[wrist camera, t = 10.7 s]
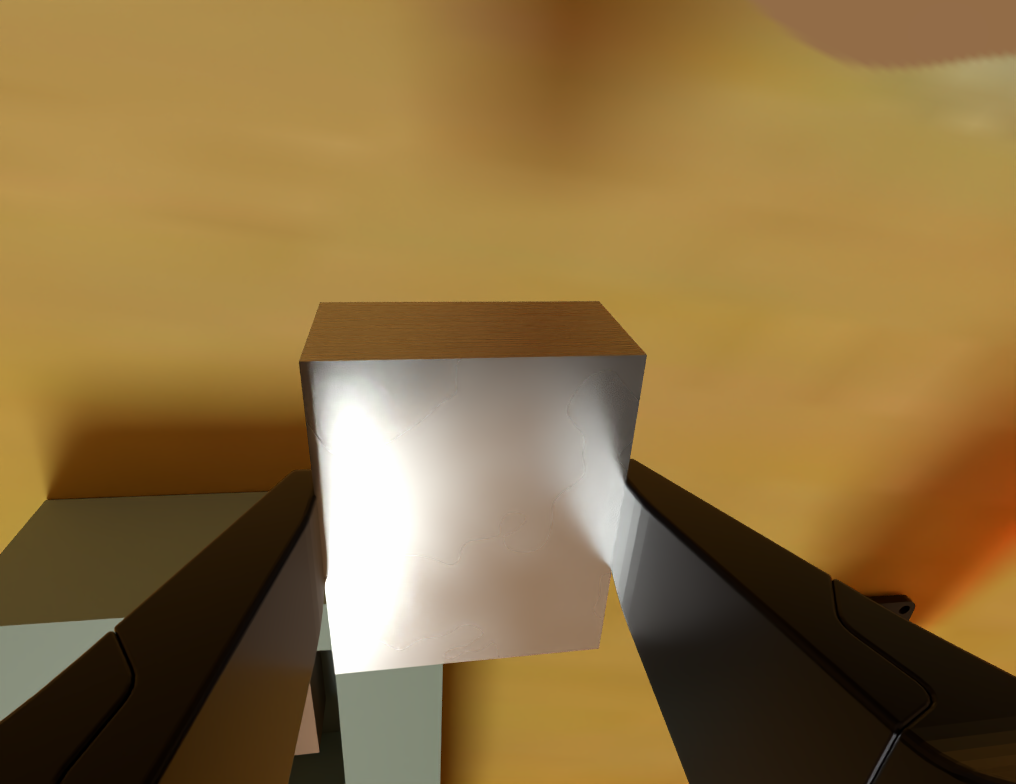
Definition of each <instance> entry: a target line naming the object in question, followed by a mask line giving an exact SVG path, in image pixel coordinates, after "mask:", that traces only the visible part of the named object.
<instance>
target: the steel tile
mask: <svg viewBox="0 0 1016 784" xmlns="http://www.w3.org/2000/svg"><path fill="white" fill-rule="evenodd" d="M646 357H647V355H646V354H645V352H644V351H643V350H642V349H641V348H640V347H639V346H638V345H637V343H636V342H635V341H634V340H633V339H632V338H631V337H630V336H629V334H628V333H627V332H626V331H625V330H624V329H623V328H622V327H621V325H620V324H619V323H618V322H617V321H616V320H615V319H614V318H613V316H612V315H611V314H610V313H609V312H608V311H607V310H606V309H605V307H604V306H603V305H602V304H601V303H600V302H599V301H558V302H320V304H319V307H318V310H317V312H316V315H315V318H314V321H313V324H312V326H311V329H310V332H309V335H308V338H307V340H306V343H305V346H304V349H303V352H302V354H301V357H300V360H299V366H300V374H301V383H302V392H303V400H304V409H305V418H306V426H307V435H308V444H309V452H310V461H311V470H312V478H313V487H314V495H315V496H316V497H317V504H318V515H319V526H320V537H321V547H322V558H323V569H324V580H325V591H326V600H327V608H328V617H329V626H330V634H331V643H332V651H333V660H334V669H335V674H344V673H354V672H364V671H375V670H385V669H395V668H405V667H415V666H426V665H436V664H446V663H456V662H466V661H477V660H487V659H497V658H507V657H517V656H527V655H538V654H548V653H558V652H568V651H578V650H589V649H599V644H600V638H601V632H602V626H603V620H604V614H605V608H606V601H607V595H608V589H609V583H610V577H611V562H612V556H613V551H614V545H615V540H616V534H617V529H618V523H619V518H620V512H621V507H622V502H623V496H624V491H625V485H626V479H627V473H628V467H629V461H630V455H631V448H632V442H633V436H634V430H635V424H636V418H637V412H638V406H639V400H640V393H641V387H642V381H643V375H644V369H645V363H646Z"/></svg>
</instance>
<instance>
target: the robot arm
mask: <svg viewBox="0 0 1016 784" xmlns="http://www.w3.org/2000/svg"><path fill="white" fill-rule="evenodd" d="M611 571H612V575H613V578H614V582H615V586H616V590H617V594H618V597H619V601H620V604H621V608H622V611H623V613H624V616H625V619H626V622H627V624H628V627H629V630H630V632H631V635H632V637H633V640H634V642H635V645H636V648H637V650H638V653H639V655H640V658H641V661H642V663H643V666H644V668H645V671H646V673H647V676H648V679H649V681H650V684H651V686H652V689H653V691H654V694H655V697H656V699H657V702H658V704H659V707H660V709H661V712H662V715H663V717H664V720H665V722H666V725H667V728H668V730H669V733H670V735H671V738H672V740H673V743H674V746H675V748H676V751H677V753H678V756H679V758H680V761H681V764H682V766H683V769H684V771H685V774H686V776H687V779H688V782H689V784H1016V677H1015V676H1013V675H1011V674H1010V673H1008V672H1006V671H1004V670H1002V669H1000V668H998V667H996V666H994V665H992V664H990V663H988V662H986V661H984V660H982V659H980V658H979V657H977V656H975V655H973V654H971V653H969V652H967V651H965V650H963V649H961V648H959V647H957V646H955V645H953V644H952V643H950V642H948V641H946V640H944V639H942V638H940V637H938V636H936V635H935V634H933V633H931V632H929V631H927V630H925V629H923V628H921V627H919V626H918V625H916V624H914V623H912V622H910V621H909V619H910V617H911V615H912V613H913V611H914V609H915V604H914V603H913V602H912V600H911V599H910V598H909V597H908V596H906V595H893V596H880V597H866V596H864V595H862V594H861V593H859V592H857V591H856V590H854V589H852V588H851V587H849V586H847V585H846V584H844V583H842V582H841V581H839V580H837V579H834V580H832V578H831V576H830V575H829V574H827V573H825V572H823V571H822V570H820V569H818V568H817V567H815V566H813V565H812V564H810V563H808V562H807V561H805V560H803V559H802V558H800V557H798V556H796V555H795V554H793V553H791V552H790V551H788V550H786V549H785V548H783V547H781V546H780V545H778V544H776V543H774V542H773V541H771V540H769V539H768V538H766V537H764V536H763V535H761V534H759V533H758V532H756V531H754V530H752V529H751V528H749V527H747V526H746V525H744V524H742V523H741V522H739V521H737V520H736V519H734V518H732V517H731V516H729V515H727V514H725V513H724V512H722V511H720V510H719V509H717V508H715V507H714V506H712V505H710V504H709V503H707V502H705V501H703V500H702V499H700V498H698V497H697V496H695V495H693V494H692V493H690V492H688V491H687V490H685V489H683V488H681V487H680V486H678V485H676V484H675V483H673V482H671V481H670V480H668V479H666V478H665V477H663V476H661V475H660V474H658V473H656V472H654V471H653V470H651V469H649V468H648V467H646V466H644V465H643V464H641V463H639V462H638V461H636V460H634V459H630V461H629V467H628V473H627V479H626V485H625V491H624V496H623V502H622V507H621V512H620V518H619V523H618V529H617V534H616V540H615V545H614V551H613V556H612V562H611ZM324 590H325V580H324V569H323V558H322V547H321V537H320V526H319V515H318V504H317V497H316V496H315V495H314V487H313V478H312V470H311V469H303V470H294V471H292V472H291V473H290V474H288V475H287V476H286V477H285V478H284V479H283V480H282V481H280V482H279V483H278V484H277V485H276V486H275V487H274V488H272V489H271V490H270V491H269V492H268V493H267V494H266V495H264V496H263V497H262V498H261V499H260V500H259V501H258V502H256V503H255V504H254V505H253V506H252V507H251V508H250V509H248V510H247V511H246V512H245V513H244V514H243V515H242V516H240V517H239V518H238V519H237V520H236V521H235V522H234V523H232V524H231V525H230V526H229V527H228V528H227V529H226V530H224V531H223V532H222V533H221V534H220V535H219V536H218V537H216V538H215V539H214V540H213V541H212V542H211V543H210V544H208V545H207V546H206V547H205V548H204V549H203V550H202V551H200V552H199V553H198V554H197V555H196V556H195V557H194V558H192V559H191V560H190V561H189V562H188V563H187V564H186V565H184V566H183V567H182V568H181V569H180V570H179V571H178V572H176V573H175V574H174V575H173V576H172V577H171V578H170V579H168V580H167V581H166V582H165V583H164V584H163V585H162V586H160V587H159V588H158V589H157V590H156V591H155V592H154V593H152V594H151V595H150V596H149V597H148V598H147V599H146V600H144V601H143V602H142V603H141V604H140V605H139V606H138V607H136V608H135V609H134V610H133V611H132V612H131V613H130V614H128V615H127V616H126V617H125V618H124V619H123V620H122V621H120V622H119V623H118V624H117V625H116V626H115V628H114V632H113V631H110V632H108V633H106V634H105V635H104V636H103V637H102V638H101V639H100V640H98V641H97V642H96V643H95V644H94V645H93V646H92V647H90V648H89V649H88V650H87V651H86V652H85V653H84V654H82V655H81V656H80V657H79V658H78V659H76V660H75V661H74V662H73V663H72V664H70V665H69V666H68V667H67V668H66V669H65V670H63V671H62V672H61V673H60V674H59V675H57V676H56V677H55V678H54V679H53V680H51V681H50V682H49V683H48V684H47V685H45V686H44V687H43V688H42V689H41V690H39V691H38V692H37V693H36V694H35V695H33V696H32V697H31V698H29V699H28V700H27V701H26V702H24V703H23V704H22V705H20V706H19V707H18V708H17V709H15V710H14V711H13V712H11V713H10V714H9V715H8V716H6V717H5V718H4V719H2V720H1V721H0V784H288V782H289V777H290V773H291V768H292V763H293V759H294V754H295V749H296V745H297V740H298V735H299V731H300V726H301V721H302V717H303V712H304V708H305V703H306V698H307V694H308V689H309V684H310V680H311V675H312V670H313V666H314V661H315V656H316V652H317V647H318V641H319V636H320V630H321V622H322V614H323V602H324Z"/></svg>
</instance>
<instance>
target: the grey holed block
mask: <svg viewBox="0 0 1016 784" xmlns="http://www.w3.org/2000/svg"><path fill="white" fill-rule="evenodd" d="M267 493H268V492H243V493H217V494H191V495H165V496H139V497H113V498H86V499H60V500H45V502H44V503H43V504H42V505H41V506H40V508H39V509H38V510H37V511H36V512H35V514H34V515H33V516H32V517H31V518H30V519H29V521H28V522H27V523H26V524H25V525H24V527H23V528H22V529H21V530H20V531H19V533H18V534H17V535H16V536H15V537H14V539H13V540H12V541H11V542H10V543H9V544H8V546H7V547H6V548H5V549H4V550H3V552H2V553H1V554H0V721H1V720H2V719H4V718H5V717H6V716H8V715H9V714H10V713H11V712H13V711H14V710H15V709H17V708H18V707H19V706H20V705H22V704H23V703H24V702H26V701H27V700H28V699H29V698H31V697H32V696H33V695H35V694H36V693H37V692H38V691H39V690H41V689H42V688H43V687H44V686H45V685H47V684H48V683H49V682H50V681H51V680H53V679H54V678H55V677H56V676H57V675H59V674H60V673H61V672H62V671H63V670H65V669H66V668H67V667H68V666H69V665H70V664H72V663H73V662H74V661H75V660H76V659H78V658H79V657H80V656H81V655H82V654H84V653H85V652H86V651H87V650H88V649H89V648H90V647H92V646H93V645H94V644H95V643H96V642H97V641H98V640H100V639H101V638H102V637H103V636H104V635H105V634H106V633H108V632H110V631H113V632H114V628H115V626H116V625H117V624H118V623H119V622H120V621H122V620H123V619H124V618H125V617H126V616H127V615H128V614H130V613H131V612H132V611H133V610H134V609H135V608H136V607H138V606H139V605H140V604H141V603H142V602H143V601H144V600H146V599H147V598H148V597H149V596H150V595H151V594H152V593H154V592H155V591H156V590H157V589H158V588H159V587H160V586H162V585H163V584H164V583H165V582H166V581H167V580H168V579H170V578H171V577H172V576H173V575H174V574H175V573H176V572H178V571H179V570H180V569H181V568H182V567H183V566H184V565H186V564H187V563H188V562H189V561H190V560H191V559H192V558H194V557H195V556H196V555H197V554H198V553H199V552H200V551H202V550H203V549H204V548H205V547H206V546H207V545H208V544H210V543H211V542H212V541H213V540H214V539H215V538H216V537H218V536H219V535H220V534H221V533H222V532H223V531H224V530H226V529H227V528H228V527H229V526H230V525H231V524H232V523H234V522H235V521H236V520H237V519H238V518H239V517H240V516H242V515H243V514H244V513H245V512H246V511H247V510H248V509H250V508H251V507H252V506H253V505H254V504H255V503H256V502H258V501H259V500H260V499H261V498H262V497H263V496H264V495H266V494H267ZM317 651H320V654H321V662H322V670H323V679H324V687H325V695H326V702H325V710H324V719H323V727H322V735H321V744H320V752H319V753H310V754H302V755H294V759H293V763H292V768H291V773H290V777H289V782H288V784H440V766H441V722H442V679H443V664H436V665H426V666H415V667H405V668H395V669H385V670H375V671H364V672H354V673H344V674H335V669H334V660H333V651H332V643H331V634H330V626H329V617H328V608H327V600H326V591H325V590H324V602H323V614H322V622H321V630H320V636H319V641H318V647H317Z"/></svg>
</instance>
